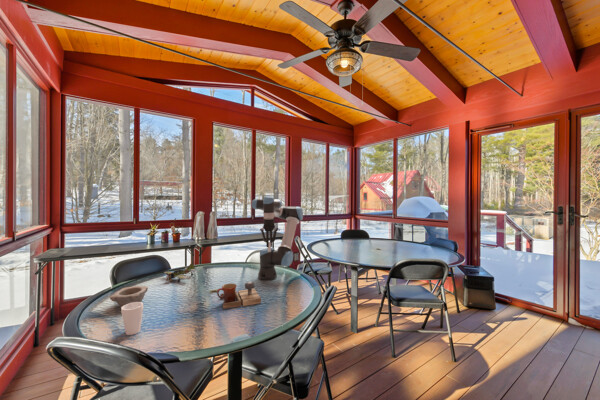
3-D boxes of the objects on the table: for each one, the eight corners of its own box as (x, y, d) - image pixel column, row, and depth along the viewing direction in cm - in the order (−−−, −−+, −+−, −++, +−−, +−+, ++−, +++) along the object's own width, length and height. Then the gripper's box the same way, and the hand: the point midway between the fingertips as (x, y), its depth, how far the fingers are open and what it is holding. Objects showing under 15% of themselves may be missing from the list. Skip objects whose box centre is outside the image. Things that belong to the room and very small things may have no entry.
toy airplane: (206, 277, 217) (206, 265, 217) (178, 287, 197) (177, 273, 196) (184, 271, 234) (184, 260, 234) (155, 279, 213) (155, 267, 213)
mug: (234, 298, 174) (234, 282, 174) (238, 303, 167) (238, 286, 166) (215, 302, 169) (215, 286, 168) (218, 307, 161) (218, 290, 161)
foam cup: (134, 325, 140) (133, 301, 139) (148, 328, 137) (147, 303, 137) (117, 335, 131) (116, 308, 130) (131, 337, 128) (131, 311, 128)
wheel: (244, 286, 174) (244, 281, 174) (253, 285, 177) (253, 280, 176) (245, 289, 169) (245, 284, 169) (255, 288, 171) (255, 283, 171)
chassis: (220, 298, 175) (220, 288, 174) (254, 292, 183) (254, 283, 183) (223, 309, 158) (223, 298, 158) (260, 302, 166) (260, 292, 166)
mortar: (107, 311, 156) (106, 296, 156) (124, 300, 173) (124, 286, 173) (137, 311, 157) (136, 295, 157) (151, 299, 174) (151, 285, 174)
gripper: (261, 219, 184) (261, 253, 185) (279, 218, 189) (279, 251, 189) (258, 218, 191) (259, 251, 192) (276, 217, 196) (276, 249, 196)
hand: (269, 251), depth 190 cm, fingers closed
